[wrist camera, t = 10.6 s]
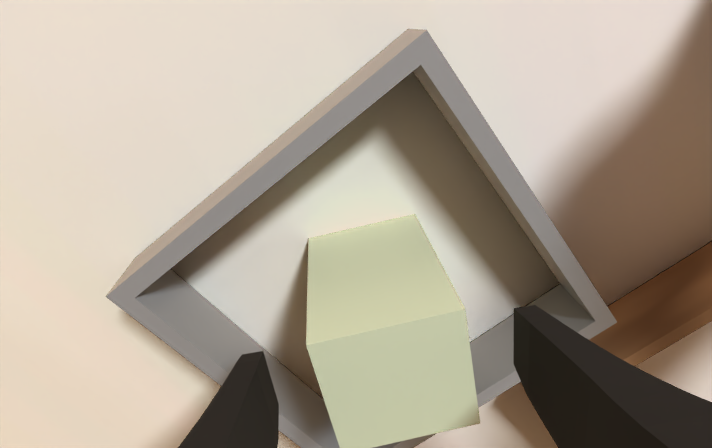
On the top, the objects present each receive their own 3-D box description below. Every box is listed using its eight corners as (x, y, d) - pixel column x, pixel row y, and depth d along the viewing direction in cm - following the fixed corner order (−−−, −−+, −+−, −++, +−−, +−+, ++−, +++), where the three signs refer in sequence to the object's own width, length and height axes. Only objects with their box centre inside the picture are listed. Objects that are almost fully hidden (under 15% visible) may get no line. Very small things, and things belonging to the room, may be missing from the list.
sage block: (429, 302, 18) (480, 422, 13) (333, 324, 18) (341, 454, 13) (414, 213, 16) (465, 309, 11) (308, 238, 16) (306, 345, 11)
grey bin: (408, 28, 14) (426, 30, 12) (579, 285, 18) (617, 322, 16) (134, 258, 16) (105, 296, 14) (346, 435, 21) (350, 486, 18)
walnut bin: (780, 198, 17) (851, 224, 15) (847, 377, 22) (909, 418, 20) (513, 365, 20) (539, 409, 17) (623, 495, 24) (655, 544, 22)
